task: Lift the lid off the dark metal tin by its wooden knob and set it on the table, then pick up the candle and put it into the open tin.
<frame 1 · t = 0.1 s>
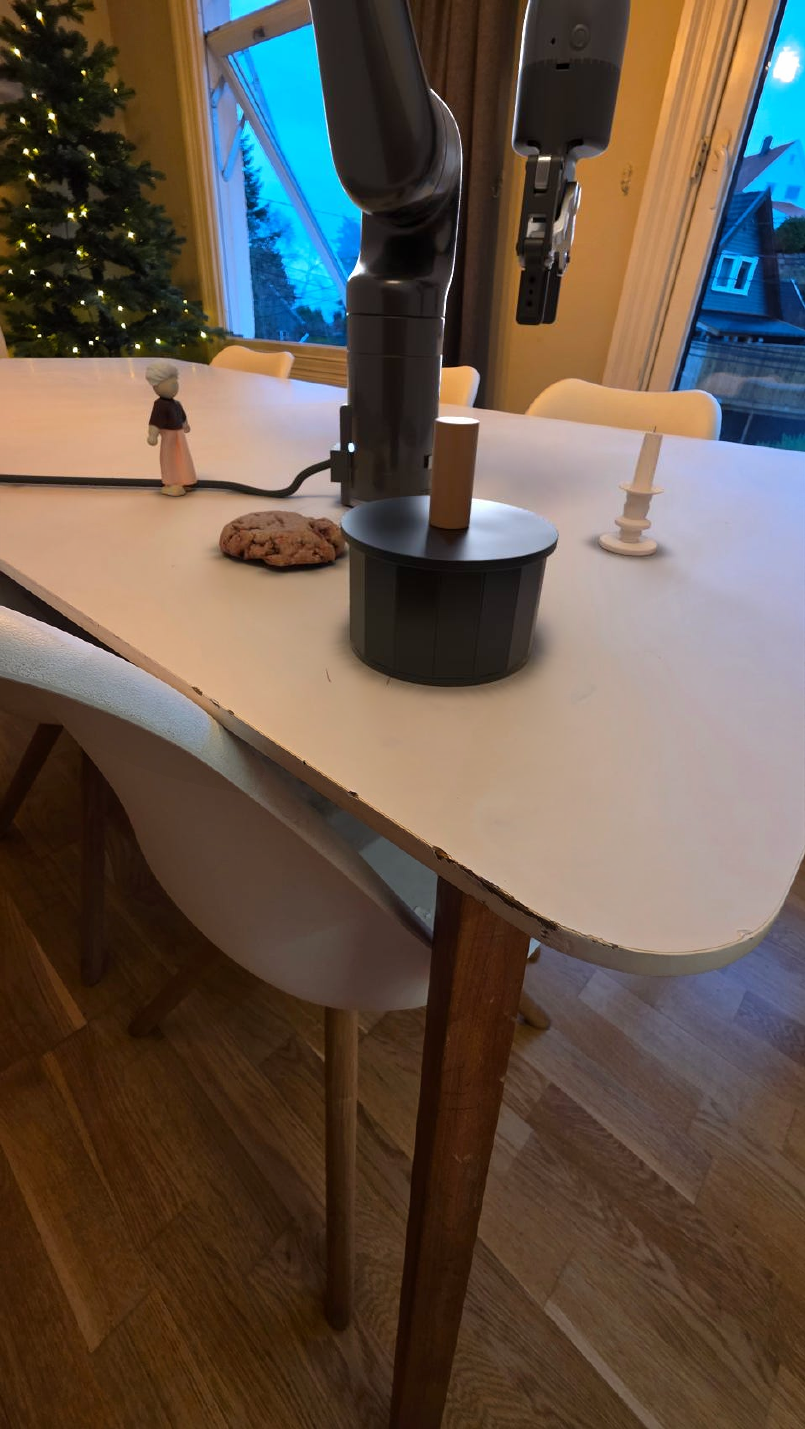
hand: (536, 324, 55), 17 cm above the table, tool pointing down, fingers open, 8 cm apart
grandmother figurine: (181, 491, 70), on the table
tin lid: (448, 533, 37), point 7 cm above the table, touching tin
cookie: (283, 555, 54), on the table
tin: (439, 640, 41), on the table
candle: (626, 548, 59), on the table
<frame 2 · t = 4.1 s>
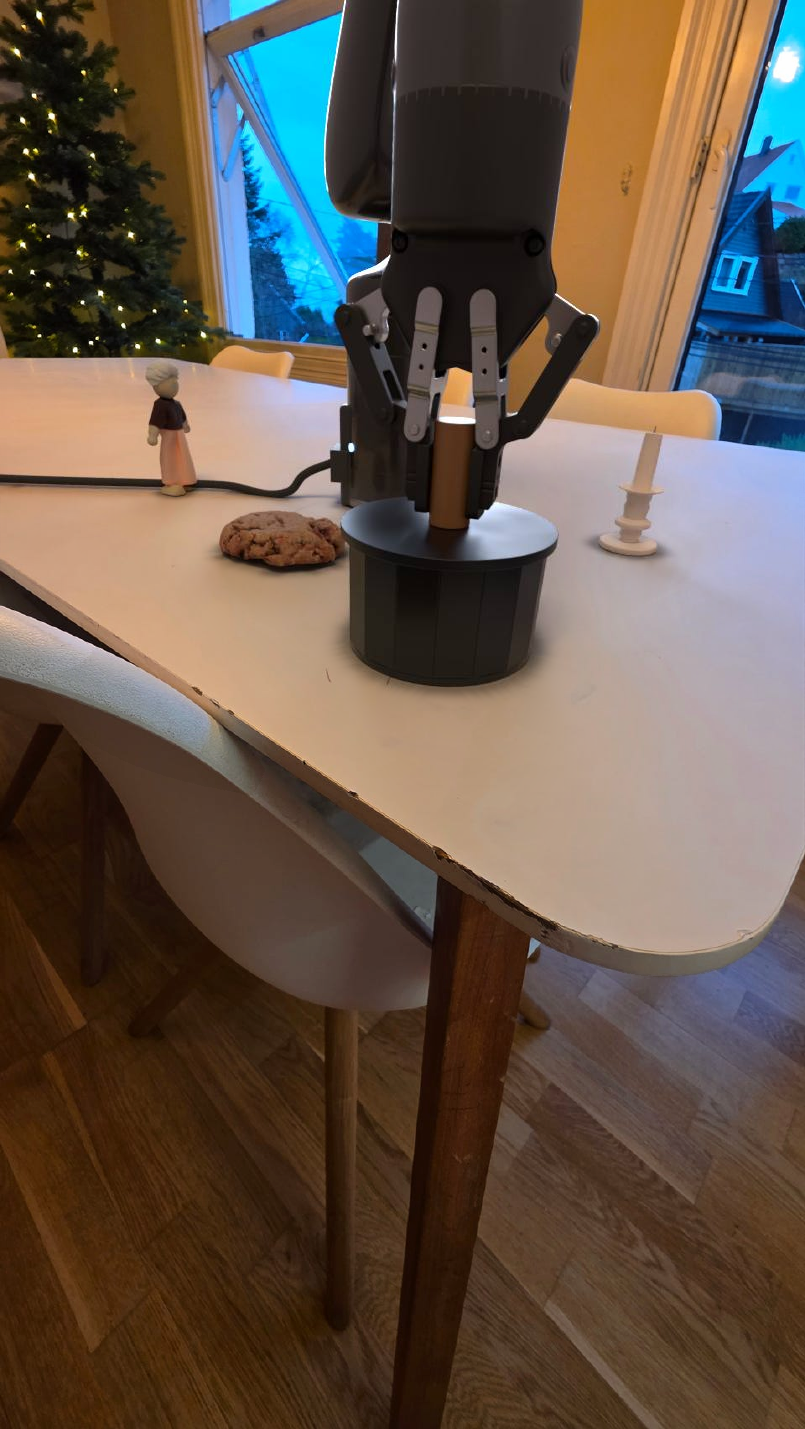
hand: (449, 511, 36), 8 cm above the table, tool pointing down, fingers closed on tin lid, 2 cm apart
tin lid: (448, 533, 37), point 7 cm above the table, touching gripper, tin
everything else where it was.
when the fingers open (2 cm above the table, at t = 11.6 s): tin lid stays where it is, point 1 cm above the table.
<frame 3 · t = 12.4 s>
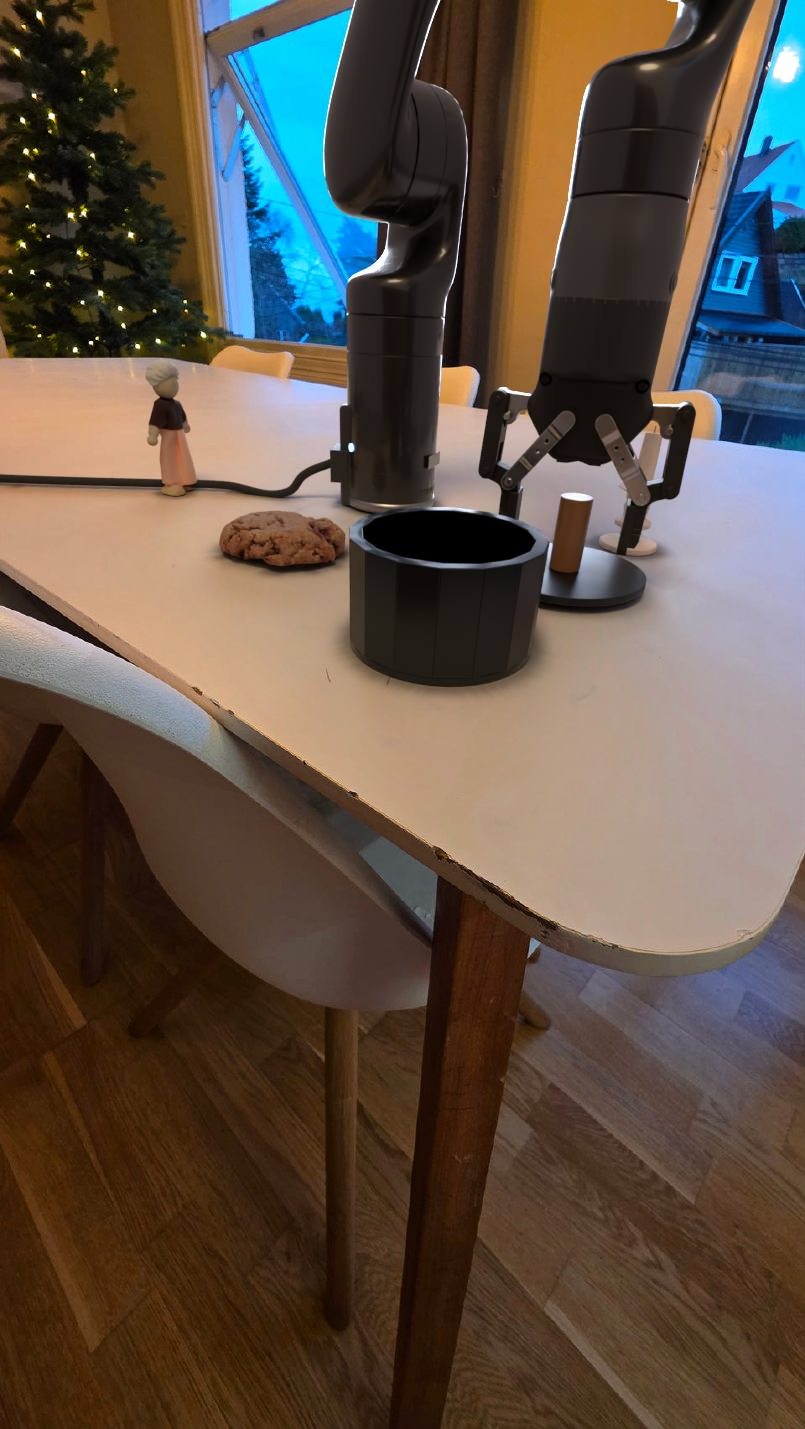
hand: (564, 544, 49), 3 cm above the table, tool pointing down, fingers open, 8 cm apart
tin lid: (562, 575, 50), point 1 cm above the table
everything else where it was.
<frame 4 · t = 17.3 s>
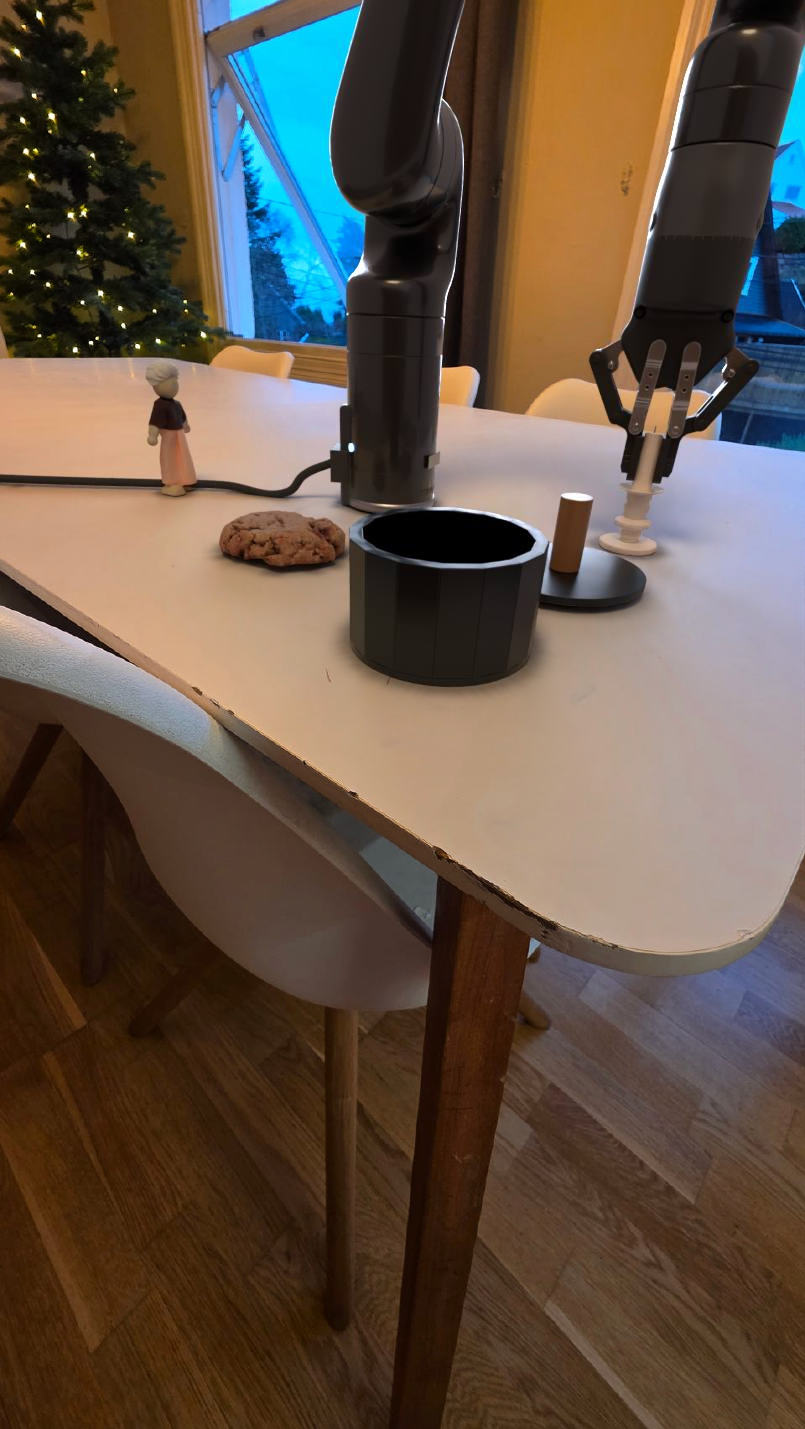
hand: (642, 479, 55), 6 cm above the table, tool pointing down, fingers closed on candle
candle: (626, 548, 59), on the table, touching gripper
everything else where it was.
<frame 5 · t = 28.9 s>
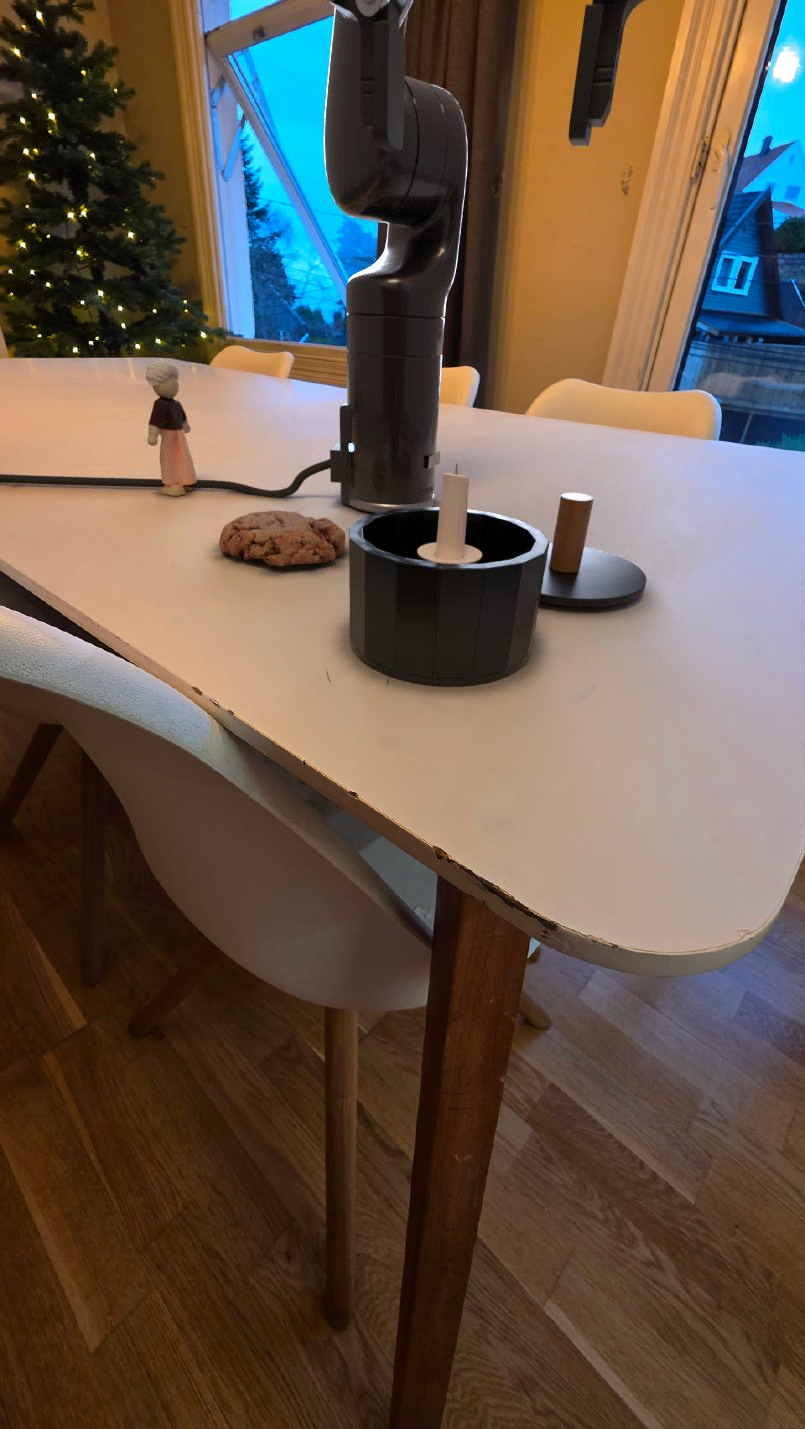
hand: (478, 145, 27), 24 cm above the table, tool pointing down, fingers open, 8 cm apart
candle: (442, 636, 40), resting on tin
everything else where it was.
at the end: tin lid inside the target area on the table beside the tin (0.2 cm from its centre), point 0.6 cm above the table; candle inside the target area in the tin (0.2 cm from its centre), point 0.3 cm above the tin's base; candle tilted 0° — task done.
